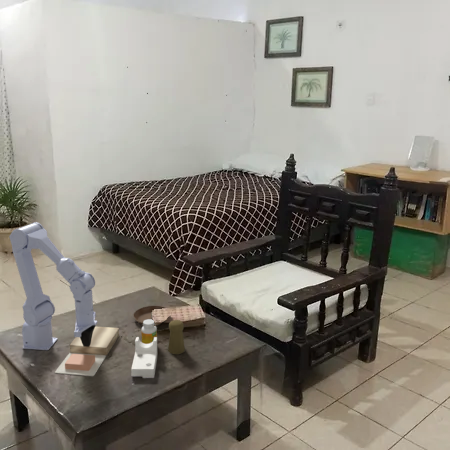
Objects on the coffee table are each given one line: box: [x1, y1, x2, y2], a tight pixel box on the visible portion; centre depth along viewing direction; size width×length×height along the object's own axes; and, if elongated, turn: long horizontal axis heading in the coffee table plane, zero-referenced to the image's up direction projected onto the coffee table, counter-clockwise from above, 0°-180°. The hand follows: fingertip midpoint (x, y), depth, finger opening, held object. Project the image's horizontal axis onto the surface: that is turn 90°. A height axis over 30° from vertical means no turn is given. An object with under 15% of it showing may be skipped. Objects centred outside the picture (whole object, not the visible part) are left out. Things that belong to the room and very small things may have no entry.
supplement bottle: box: [140, 319, 158, 344], centre depth 174 cm, size 5×5×10 cm
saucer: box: [132, 305, 166, 326], centre depth 195 cm, size 15×15×3 cm
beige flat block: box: [69, 325, 120, 356], centre depth 176 cm, size 13×14×3 cm
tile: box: [65, 353, 95, 371], centre depth 163 cm, size 8×6×2 cm
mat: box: [54, 352, 107, 377], centre depth 164 cm, size 13×12×1 cm
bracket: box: [130, 336, 158, 379], centre depth 162 cm, size 13×7×8 cm, turn 3°
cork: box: [167, 319, 186, 355], centre depth 172 cm, size 6×6×11 cm
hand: (86, 345), depth 168 cm, fingers closed
